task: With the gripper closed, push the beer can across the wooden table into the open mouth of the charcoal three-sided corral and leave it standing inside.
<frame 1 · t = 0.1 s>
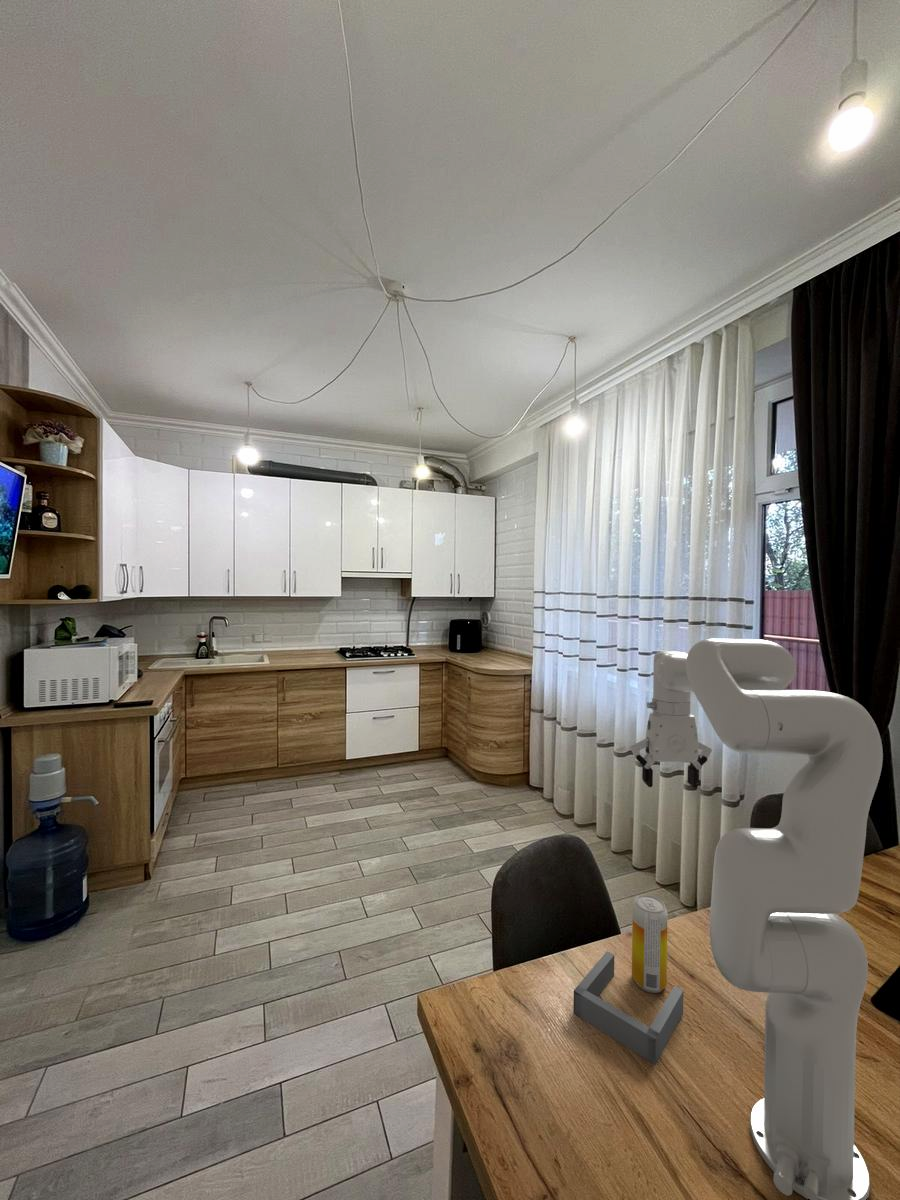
hand: (670, 785, 109), 31 cm above the table, tool pointing down, fingers open, 9 cm apart
beer can: (648, 983, 93), on the table
corral: (629, 1011, 87), on the table
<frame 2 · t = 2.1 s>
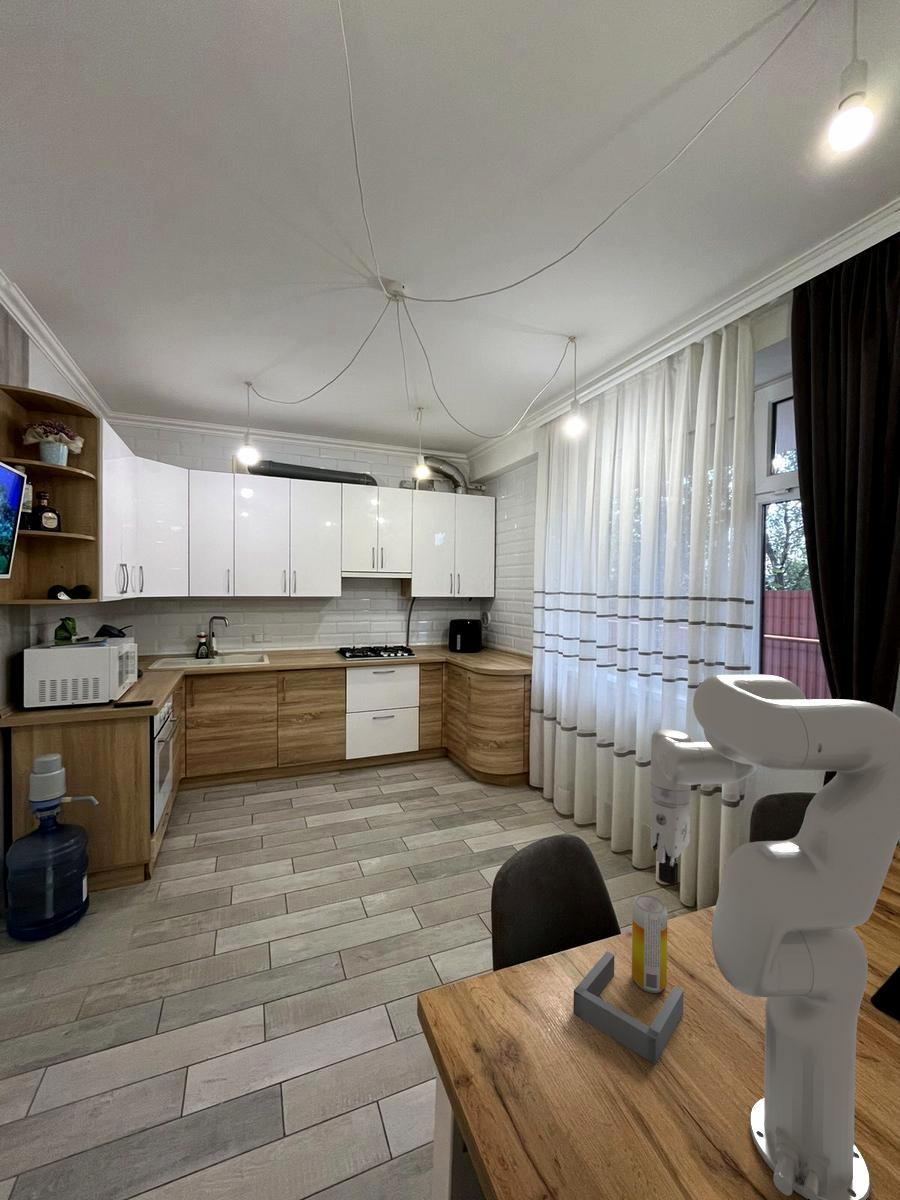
hand: (668, 881, 102), 14 cm above the table, tool pointing down, fingers closed
nothing on the table moved.
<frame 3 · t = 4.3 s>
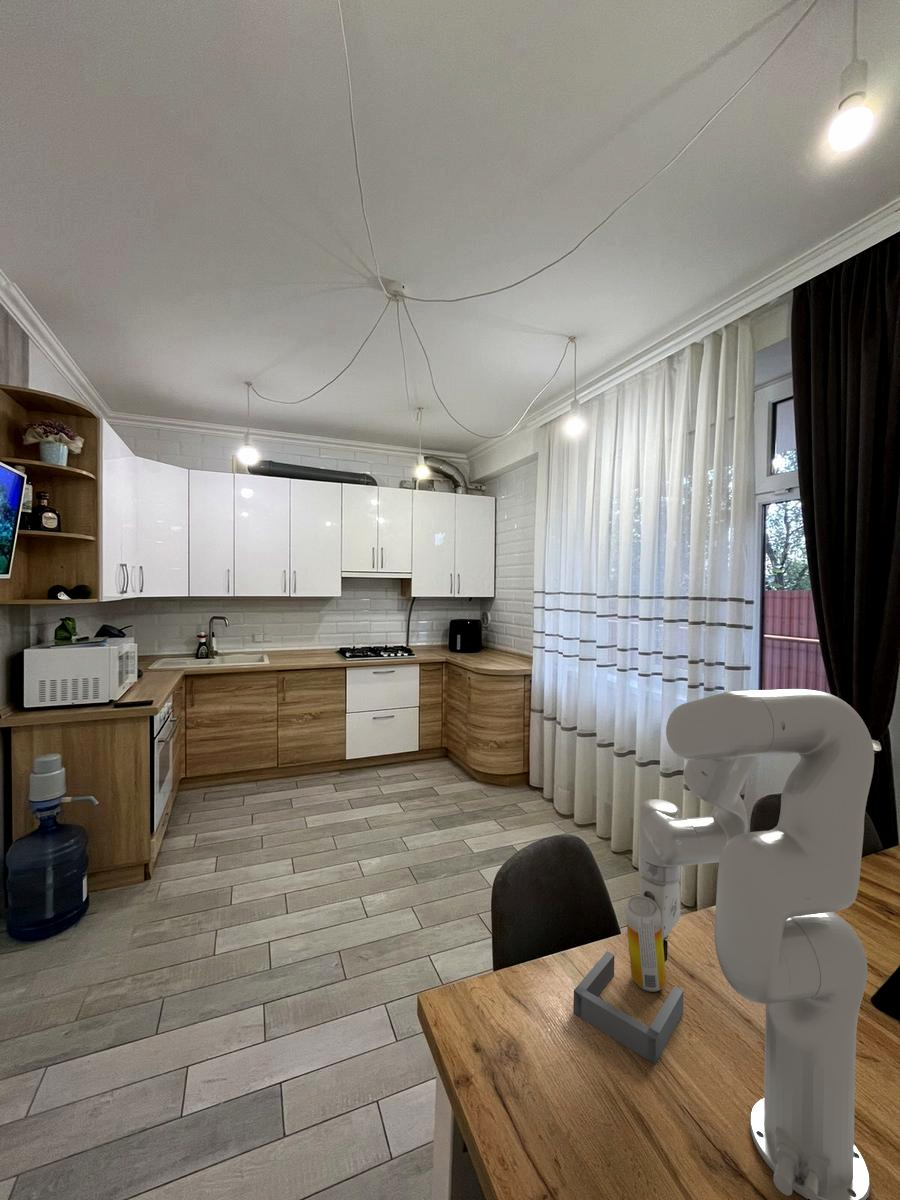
hand: (657, 958, 98), 1 cm above the table, tool pointing down, fingers closed
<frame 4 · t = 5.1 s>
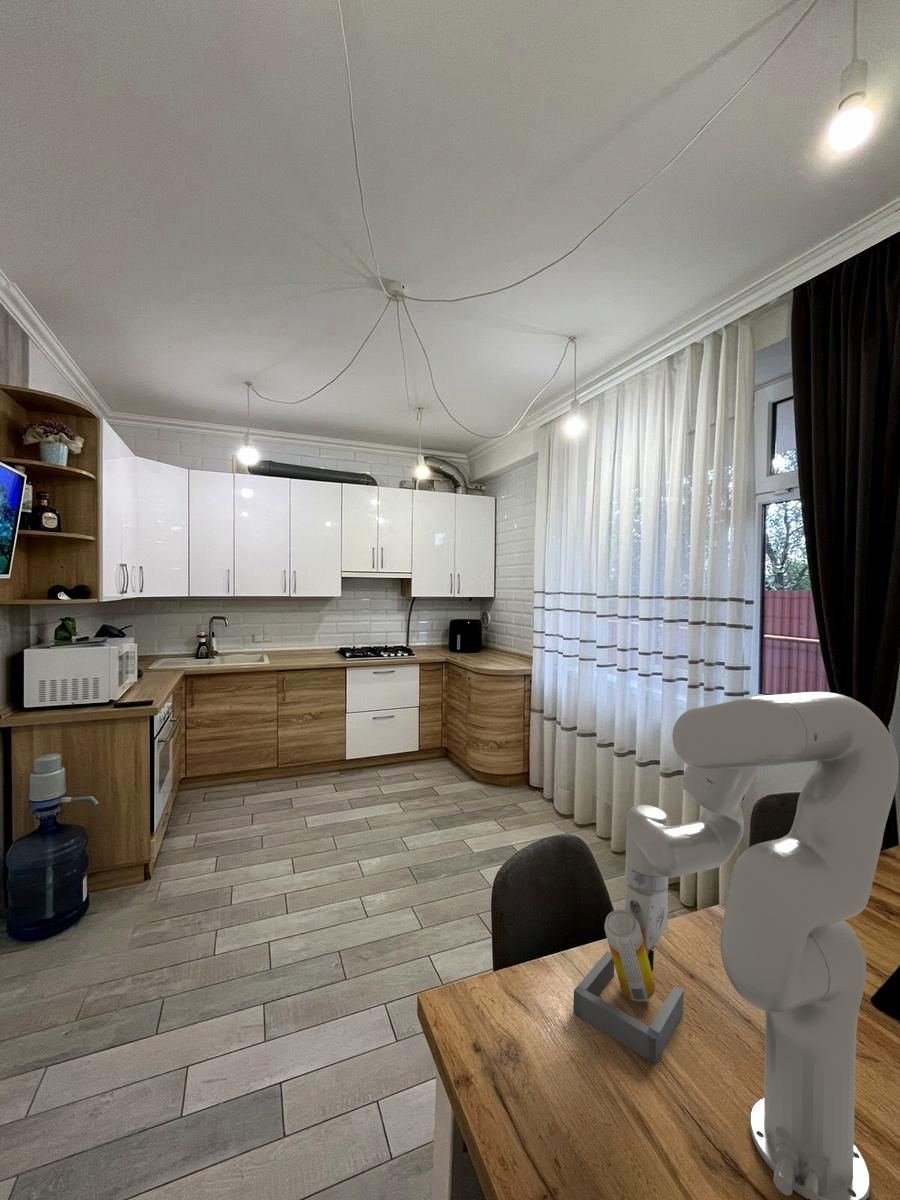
hand: (642, 969, 94), 2 cm above the table, tool pointing down, fingers closed
beer can: (638, 988, 91), point 1 cm above the table, touching gripper
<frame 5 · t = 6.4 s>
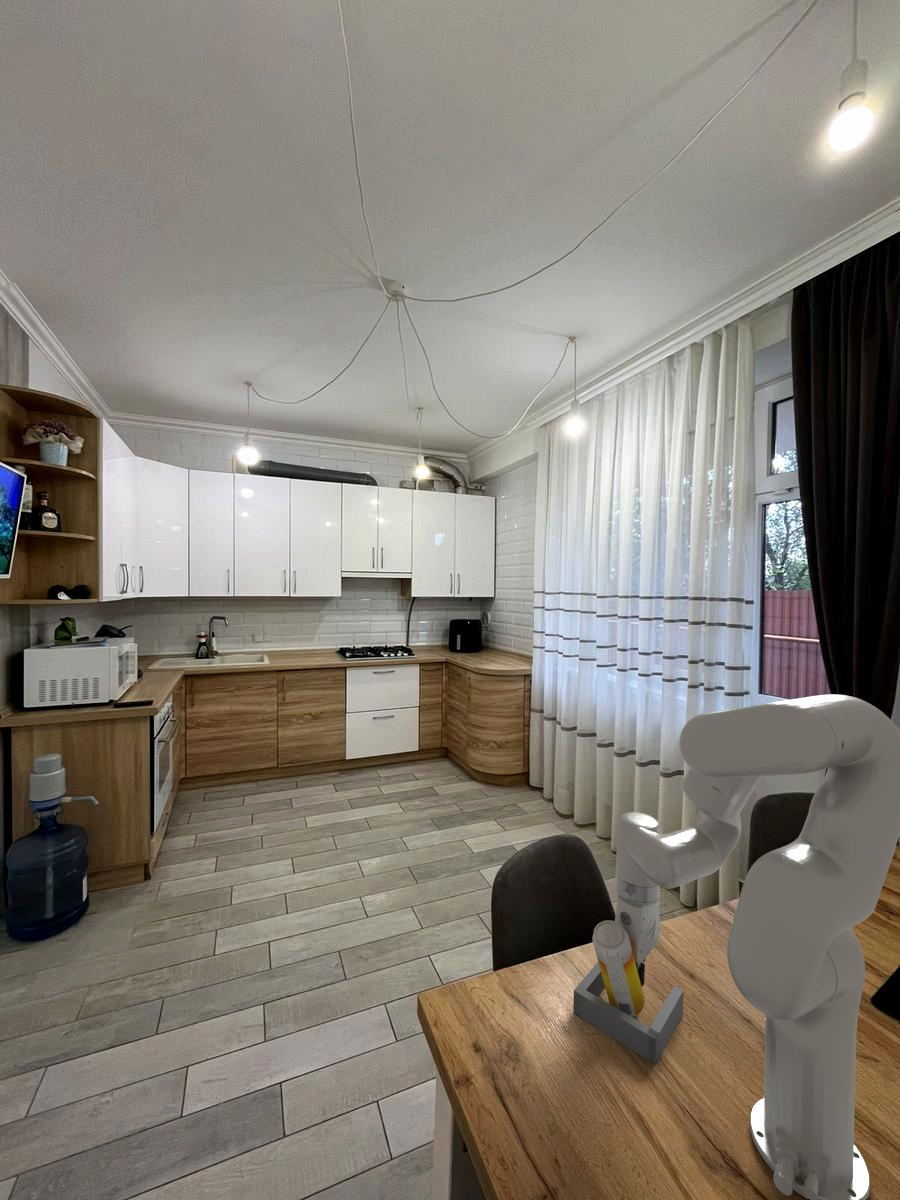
hand: (633, 982, 91), 2 cm above the table, tool pointing down, fingers closed
beer can: (627, 1003, 88), point 1 cm above the table, touching gripper
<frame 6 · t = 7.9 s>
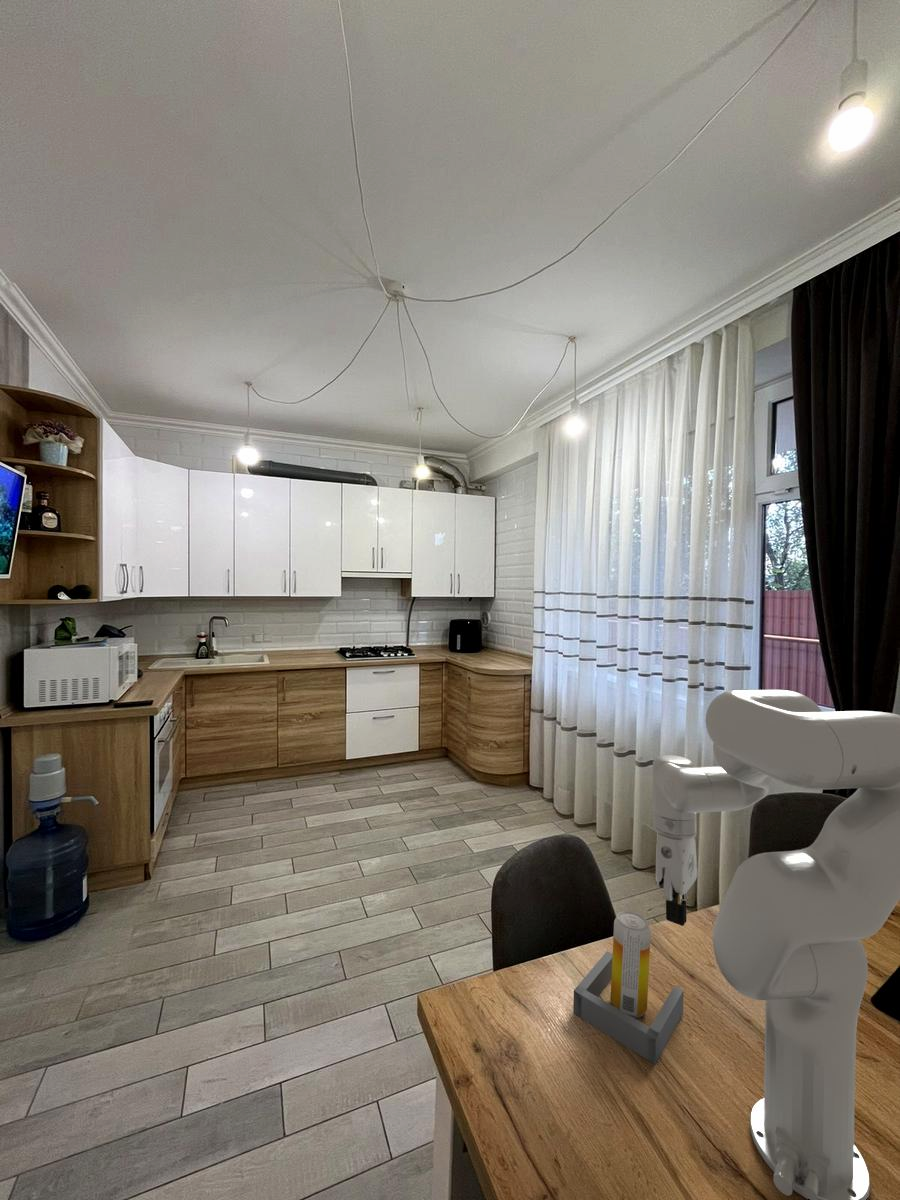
hand: (676, 921, 95), 11 cm above the table, tool pointing down, fingers closed
beer can: (628, 1007, 88), on the table
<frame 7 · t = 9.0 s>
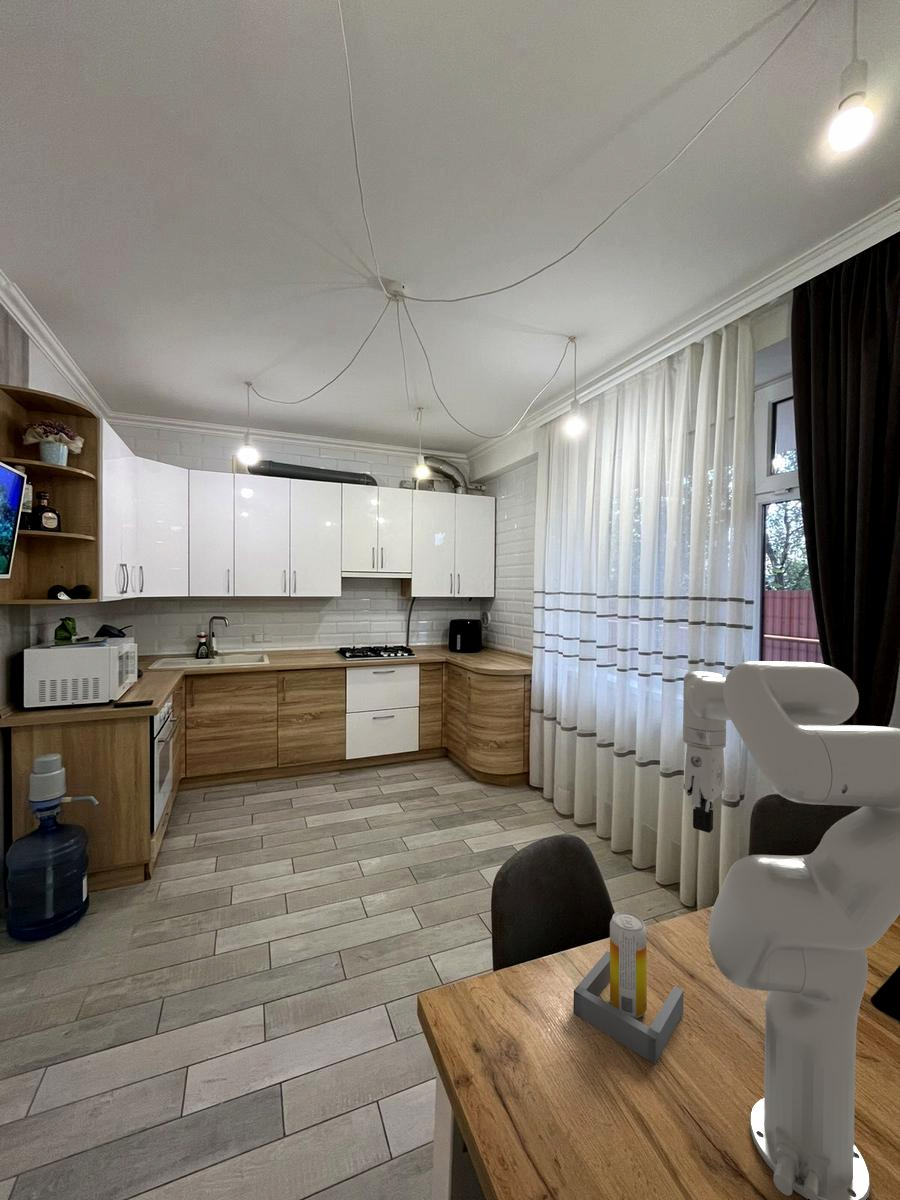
hand: (702, 829, 97), 27 cm above the table, tool pointing down, fingers closed
nothing on the table moved.
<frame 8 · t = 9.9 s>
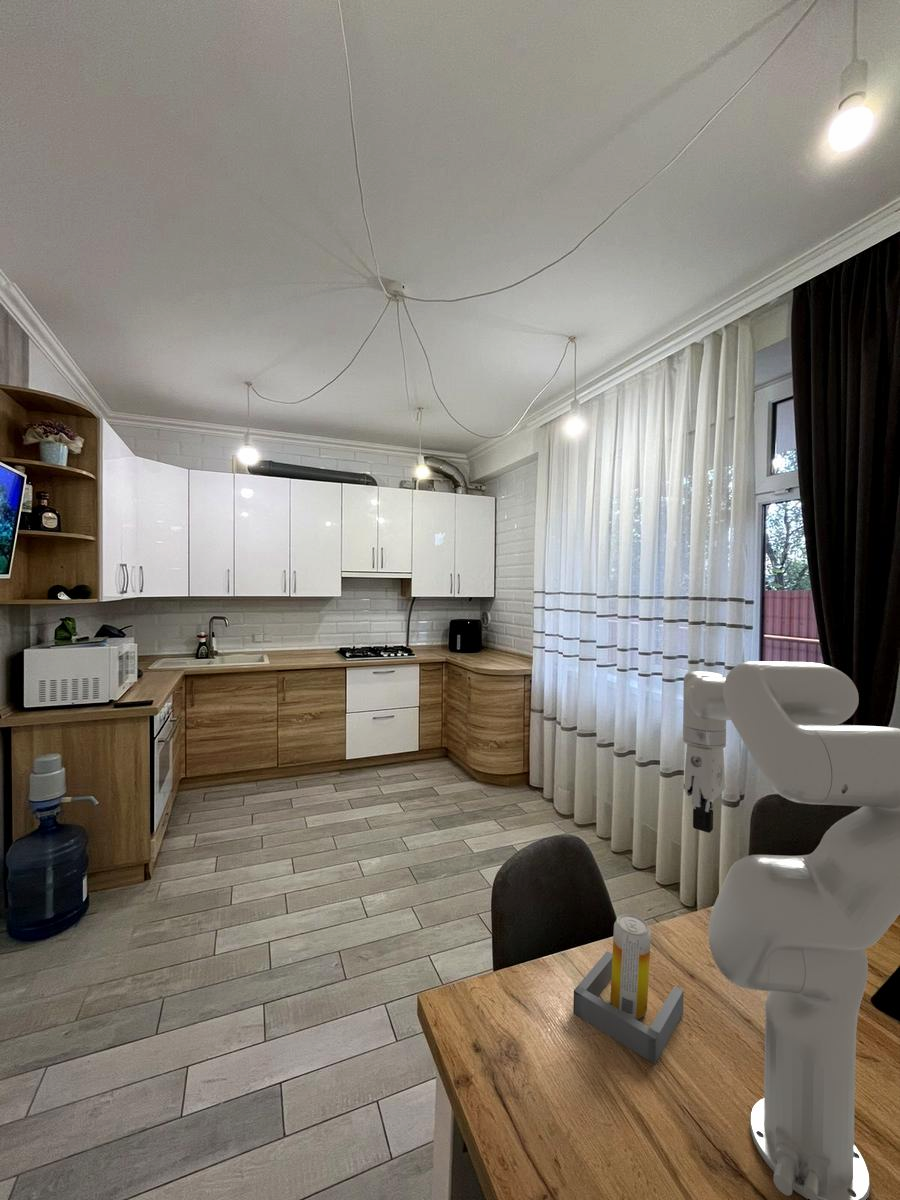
hand: (702, 829, 97), 27 cm above the table, tool pointing down, fingers closed
at the end: beer can inside the target area on the corral (1.4 cm from its centre), point 0.0 cm above the corral's base; beer can tilted 3° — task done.
